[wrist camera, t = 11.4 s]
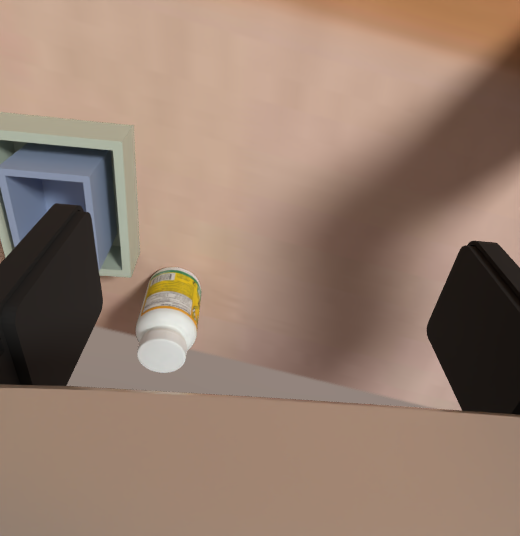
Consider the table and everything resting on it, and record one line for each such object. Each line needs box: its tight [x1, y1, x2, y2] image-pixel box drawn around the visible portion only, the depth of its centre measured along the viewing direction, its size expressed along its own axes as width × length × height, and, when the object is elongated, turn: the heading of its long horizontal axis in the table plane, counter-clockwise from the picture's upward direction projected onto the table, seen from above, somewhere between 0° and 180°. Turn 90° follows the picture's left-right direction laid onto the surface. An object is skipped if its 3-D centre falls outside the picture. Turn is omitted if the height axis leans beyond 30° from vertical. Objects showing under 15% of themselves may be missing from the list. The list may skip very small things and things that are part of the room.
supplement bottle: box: [136, 267, 201, 373], centre depth 39 cm, size 5×5×10 cm
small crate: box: [0, 142, 117, 270], centre depth 34 cm, size 6×8×6 cm
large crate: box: [0, 112, 140, 277], centre depth 35 cm, size 10×12×4 cm
